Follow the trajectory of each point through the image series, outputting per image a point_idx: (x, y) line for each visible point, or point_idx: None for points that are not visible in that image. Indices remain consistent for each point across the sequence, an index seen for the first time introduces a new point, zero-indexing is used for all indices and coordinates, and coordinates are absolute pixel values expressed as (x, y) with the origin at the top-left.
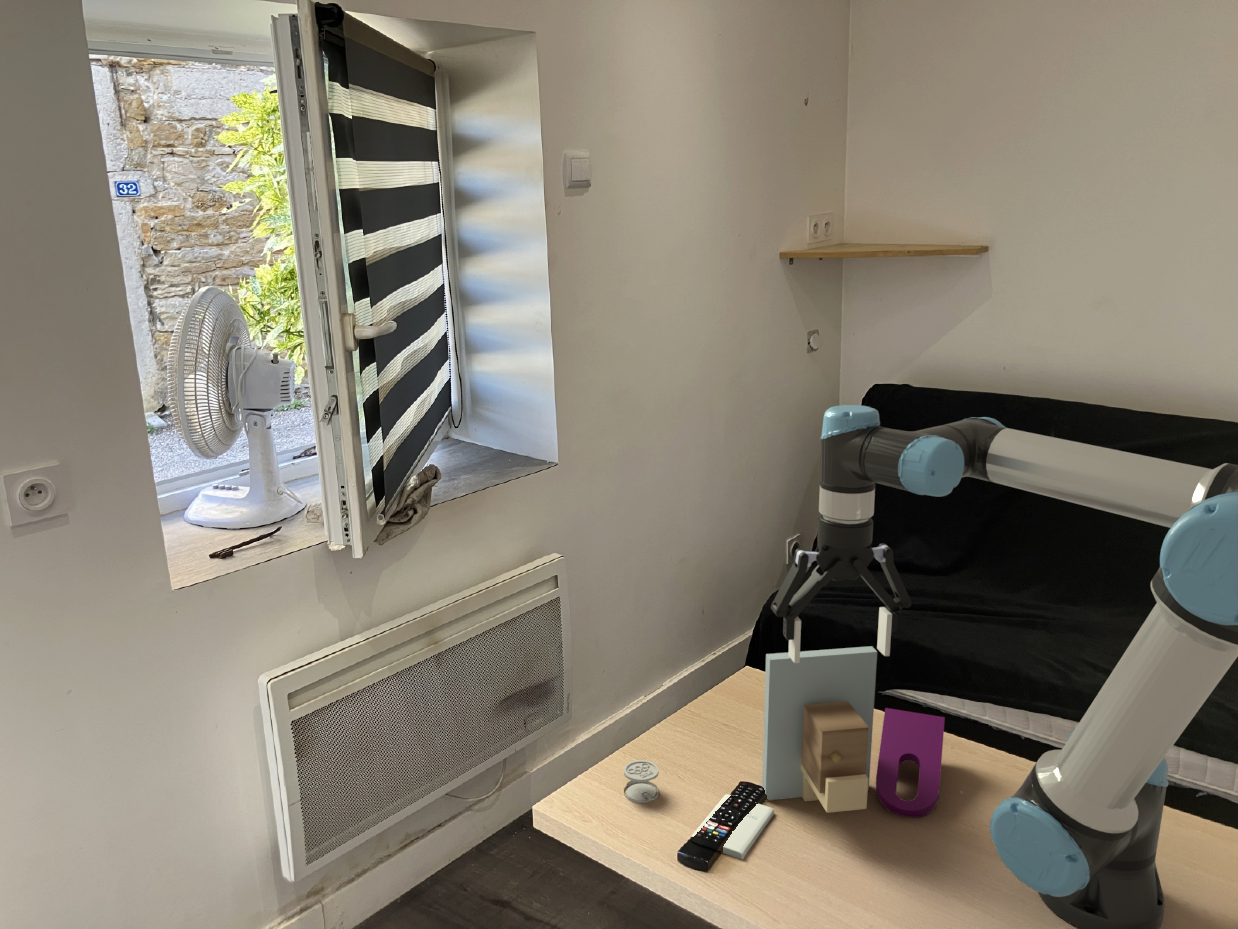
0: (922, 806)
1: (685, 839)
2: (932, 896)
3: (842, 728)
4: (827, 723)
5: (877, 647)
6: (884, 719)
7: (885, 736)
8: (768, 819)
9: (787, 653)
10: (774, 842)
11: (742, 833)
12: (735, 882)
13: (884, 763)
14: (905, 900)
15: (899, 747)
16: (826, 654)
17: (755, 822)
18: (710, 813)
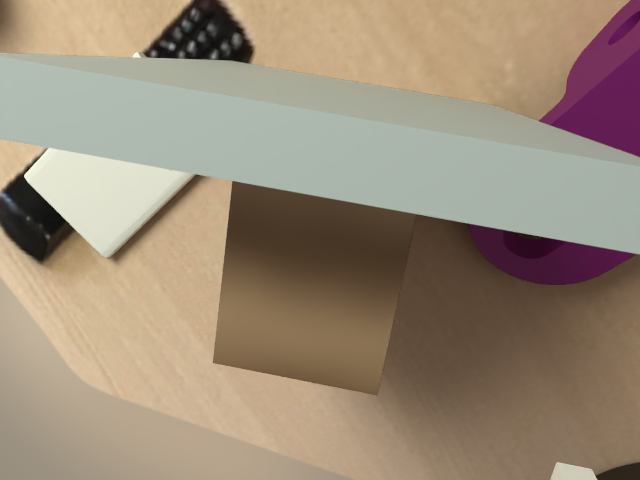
0: (534, 278)
1: (22, 163)
2: (389, 443)
3: (287, 369)
4: (254, 325)
5: (556, 476)
6: None
7: (608, 89)
8: None
9: (103, 87)
10: (190, 231)
11: (124, 205)
12: (82, 304)
13: None
14: (340, 435)
15: (614, 141)
16: (329, 184)
17: (164, 180)
18: None
